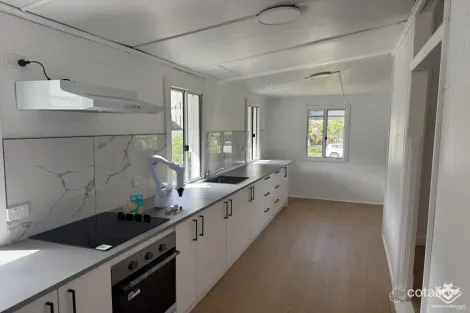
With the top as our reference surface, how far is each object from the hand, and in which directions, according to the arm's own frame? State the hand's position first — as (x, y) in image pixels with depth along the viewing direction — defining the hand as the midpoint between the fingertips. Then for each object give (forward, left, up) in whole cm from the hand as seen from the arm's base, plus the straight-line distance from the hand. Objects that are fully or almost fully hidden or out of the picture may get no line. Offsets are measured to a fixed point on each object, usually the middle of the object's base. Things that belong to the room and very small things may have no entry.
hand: (180, 196), depth 253 cm
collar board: (0, -12, -9) cm, 15 cm away
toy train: (-25, -31, -10) cm, 41 cm away
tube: (-2, -13, -8) cm, 15 cm away
